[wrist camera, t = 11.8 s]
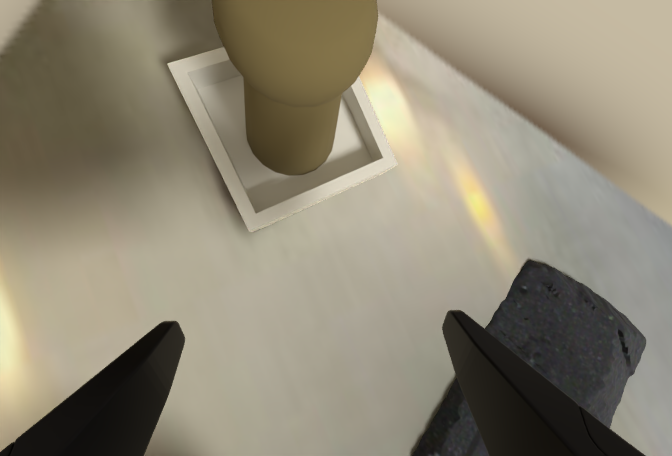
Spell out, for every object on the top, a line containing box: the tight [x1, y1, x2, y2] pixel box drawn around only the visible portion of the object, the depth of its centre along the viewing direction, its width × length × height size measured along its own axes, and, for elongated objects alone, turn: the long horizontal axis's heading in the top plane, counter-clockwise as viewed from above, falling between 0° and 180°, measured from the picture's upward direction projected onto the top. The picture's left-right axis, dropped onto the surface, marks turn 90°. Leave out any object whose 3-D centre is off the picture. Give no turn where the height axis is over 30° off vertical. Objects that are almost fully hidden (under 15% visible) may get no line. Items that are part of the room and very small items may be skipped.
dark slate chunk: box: [412, 261, 646, 456], centre depth 20 cm, size 15×22×5 cm
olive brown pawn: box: [212, 0, 378, 176], centre depth 12 cm, size 6×6×11 cm
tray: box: [167, 47, 398, 232], centre depth 17 cm, size 11×11×2 cm
